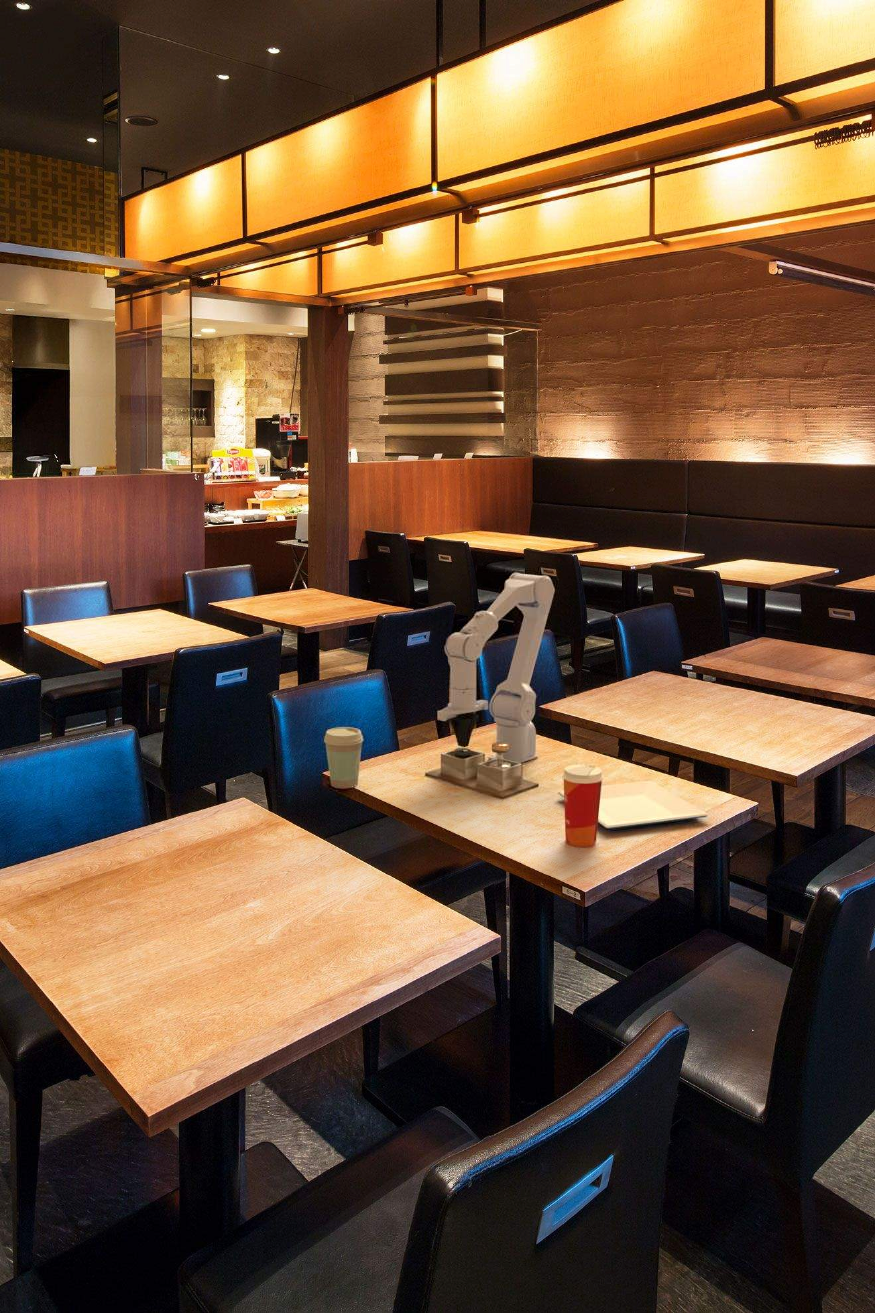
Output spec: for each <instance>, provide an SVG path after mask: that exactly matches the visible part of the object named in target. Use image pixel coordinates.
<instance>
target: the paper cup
mask: <svg viewBox="0 0 875 1313" xmlns="http://www.w3.org/2000/svg"><path fill="white" fill-rule="evenodd" d="M561 777H562V779H563V790H564V797H563V799H564V800H563V805H564V806H563V807H564V808H563V809H564V830H565V832H564V834H565V842H566V844H567V845H569V846H572V847H576V848H588V847H593V846H595V844H596V843H597V834H598V826H599V823H598V817H599V806H600V796H601V786H603V784H602V783H603V780H604V779H605V777H604V775H603V772H602V769H601V768H600V767H598V766H597V767H595V766H592V765H587V764H572V765H569V766H566V767H565V768H564V770H563V773H561Z"/></svg>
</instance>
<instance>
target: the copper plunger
mask: <svg viewBox="0 0 875 1313" xmlns="http://www.w3.org/2000/svg"><path fill="white" fill-rule="evenodd" d="M508 750H509V744H508V743H504V742H496V741H495V742H493V743H491V751H492V752H493V753H495V754H496V753H497V762H492V763H490V764H489V767H493V768H496V769H500V770H503V769H506V768H509V767H511V764H510V763H507V762H503V753H506V752H508Z"/></svg>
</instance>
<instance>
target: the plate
mask: <svg viewBox="0 0 875 1313" xmlns="http://www.w3.org/2000/svg"><path fill="white" fill-rule="evenodd" d="M557 793H558V795H560V796H561V797H563V798H564V789H563V790H562V789H561V790H558V791H557ZM708 816H709V814H708V813H706V812H705V811H703V810H702V809H699V808H698V807H696V806H695V805H693V804H691V803H690V802H688V801H686V800H684V799H683V798H681V797H679V796H678V795H676V794H674V793H672V792H671V791H670V790H667V789H666V788H664V787H662V786H661V785H659V784H658V783H656V782H654V781H652V780H643V781H634V782H624V783H616V784H608V785H607V784H606V785H601V796H600V806H599V817H598V824H599V825H601V826H602V827H604V828H605V829H606V830H613V829H621V828H628V827H629V828H631V827H637V826H645V825H654V824H660V823H669V822H676V821H677V822H678V821H684V820H685V821H686V820H691V819H692V820H693V819H700V818H707V817H708Z"/></svg>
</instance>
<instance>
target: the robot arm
mask: <svg viewBox="0 0 875 1313" xmlns="http://www.w3.org/2000/svg"><path fill="white" fill-rule="evenodd" d="M555 591H556V590H555V586H554V584H553V581H552V579H551V578H550V576H548V575H537V574H536V575H535V574H526V573H520V572H514V573H512V574H511V575H510V576H509V578H508V579H506V580H505V582H504V589H503V590H502V592H501V593H500V594H499V595H498V596H497V598H496V599H495V600H494V601H493V603H492V604H491V605H490V606H489V607H488V608H487V610H480V611H476V612H475V614H474V616H473V618H471V620H469V621H468V623H466V624H465V625H464V626H463V627H462V628H461V629H460V631H459V632H458V631H457V632H456V631H455V632H454V633H451V635H449V636H448V637H447V638H446V642H445V645H444V652H445V655H446V656H447V661H448V665H449V667H450V675H449V676H450V679H449V680H450V686H449V688H450V691H449V692H450V695H449V696H450V702H449V703H447V706H446V707H444V708H443V709H440V710H437V714H436V715H437V721H442V722H447V720H448V722H449V724H450V725H451V727H452V729H453V732H454V735H455V739H456V743H457V746H458V747H460V748H468V747H469V744H470V742H471V741H470V740H471V736H472V734H473V732H474V731H473V730H474V728H475V726H476V724H477V722H478V720H479V714H478V713H477V714H476V713H475V712H478V711H482V710H483V711H486V710H488V709H489V713H490V715H491V716H492V718H493V721H494V722H495V723H496V741H495V742H504V743H508V744H509V750H508V752H506V753H503V759H506V760H510V761H514V762H517V763H521V764H523V763H525V762H529V761H531V760H533V759H537V758H538V757H539V755H538V754H537V753H536V750H537V749H536V748H537V747H536V746H537V744H536V743H537V731H536V727H535V725H534V723H533V722H532V720H533V719H534V716H535V714H536V699H537V695H536V692H535V691H534V690H533V688H532V687H531V686H530V683H531V679H532V676H533V672H534V668H535V666H536V665H535V664H536V662H537V658H538V654H539V650H540V646H541V642H542V640H543V636H544V631H545V627H546V624H547V620H548V617H549V613H550V609H551V606H552V603H553V602H552V601H553V599H554V594H555ZM515 607H517V608H518V609H519V611H521V613H522V614H523V620H522V623H521V626H520V630H519V633H518V638H517V642H516V646H515V649H514V652H513V657H512V660H511V664H510V669H509V672H508V675H507V679H506V680H504V681H502V682H501V683H500V684H498V685H497V686H496V689H495V692H494V693H493V695H492V697H491V699H490V702H489V701H488V700H484V699H479V700H477V659H479V658H480V657H481V655H482V652H483V648H484V647H485V644H486V642H487V641H488V640H489V639H490V638H491V637H492V636H493V635H494V634H495V632H497V630H498V628H499V621H500V620H501V619H502V618H504V617H505V616H506V615H507V614H508V613H509V612H510V611H511V610H513V609H514V608H515ZM495 758H497V753H495V754H492V755H489V756H488V759H489V760H491V759H495Z"/></svg>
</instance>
